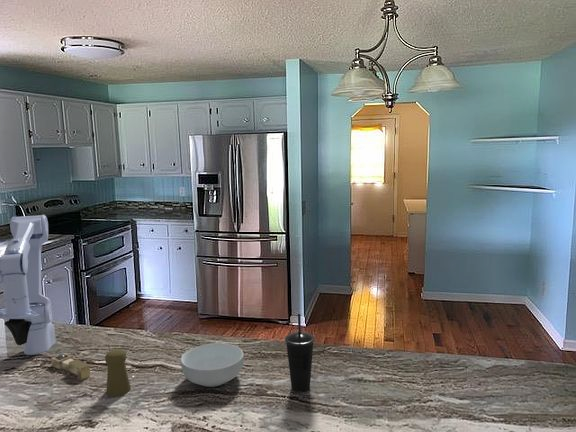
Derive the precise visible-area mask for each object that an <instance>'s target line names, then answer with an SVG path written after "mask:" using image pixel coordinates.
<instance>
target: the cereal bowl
mask: <svg viewBox="0 0 576 432" xmlns="http://www.w3.org/2000/svg"><path fill="white" fill-rule="evenodd" d="M244 355H245V354H244V352H243V350H242V348H240V347H239V346H237V345H234V344H230V343H222V342H221V343H220V342H217V343H215V342H214V343H207V344H202V345H198V346H196V347H193V348H190V349H189V350H187V351H186V352H184V353H183V354H182V355H181V357H180V366H181V371H182V374H183V375H184V377H185V378H186V380H188V381H190V382H191V383H193V384H196V385H199V386H203V387H206V388H207V387H208V388H209V387H211V388H214V387H218V386H222V385H224V384H225V383H227V382H230V381H231V380H233V379H235V378H236V377H238V375H239V374H240V373H241V371H242V369H243V366H244V360H245V359H244Z"/></svg>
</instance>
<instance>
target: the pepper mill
mask: <svg viewBox="0 0 576 432" xmlns="http://www.w3.org/2000/svg"><path fill="white" fill-rule="evenodd" d="M104 360H105V364H106V365H107V377H106V378H107V379H106V395H107V396H108V397H111V398H116V397H121V396H124V395H127V394H128V393H130V392H131V390H132V388H131V387H132V386H131V382H130V379H129V374H128V370H127V366H126V360H127V352H126V351H125V350H124V349H121V348H116V349H112V350H109V351H107V353H106V354H105V356H104Z"/></svg>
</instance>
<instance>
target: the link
mask: <svg viewBox="0 0 576 432" xmlns="http://www.w3.org/2000/svg"><path fill="white" fill-rule="evenodd" d="M61 354H65V358H64V359H61V360H58V356H59V355H61ZM74 360H75V359H74V356H73V355H72V354H69V353H67V352H62V353H59V354H58V355H55V356H52V357H50V363H51V367H52V368H55V369H58V370H61V369H62V370H65V371H67V372H70V373H72V374H74V375H76V376H78V372H77V369H75V368H74V367H72V366H70V365H69V362H71V361H74Z"/></svg>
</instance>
